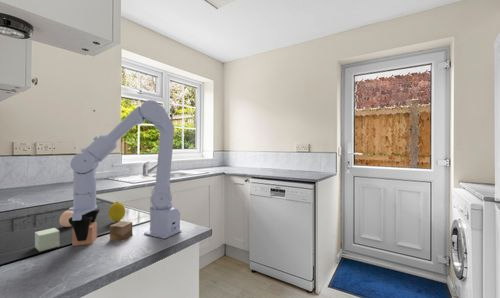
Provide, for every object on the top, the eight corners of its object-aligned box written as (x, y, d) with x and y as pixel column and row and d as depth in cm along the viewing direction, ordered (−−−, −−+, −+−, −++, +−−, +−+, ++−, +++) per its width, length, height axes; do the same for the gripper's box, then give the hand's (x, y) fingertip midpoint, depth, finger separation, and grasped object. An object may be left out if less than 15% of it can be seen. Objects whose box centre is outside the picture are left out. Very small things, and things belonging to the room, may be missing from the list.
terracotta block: (96, 237, 76) (96, 221, 75) (92, 243, 71) (92, 227, 71) (78, 239, 74) (78, 223, 74) (72, 245, 69) (72, 229, 69)
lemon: (118, 225, 87) (117, 203, 87) (105, 224, 88) (105, 202, 88) (128, 220, 92) (128, 200, 92) (116, 219, 94) (116, 199, 93)
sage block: (59, 246, 69) (59, 231, 69) (39, 251, 66) (39, 235, 65) (54, 242, 72) (54, 227, 72) (35, 247, 68) (34, 232, 68)
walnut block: (132, 235, 77) (132, 222, 77) (122, 241, 73) (122, 226, 73) (120, 234, 78) (120, 221, 78) (109, 240, 74) (109, 225, 74)
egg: (57, 226, 85) (57, 210, 85) (75, 223, 89) (75, 207, 89) (61, 230, 82) (61, 213, 81) (78, 226, 85) (78, 210, 85)
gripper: (77, 189, 78) (78, 230, 78) (58, 198, 64) (59, 248, 64) (102, 188, 80) (102, 227, 80) (89, 197, 66) (89, 245, 67)
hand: (85, 236), depth 72 cm, fingers closed on terracotta block, 5 cm apart
